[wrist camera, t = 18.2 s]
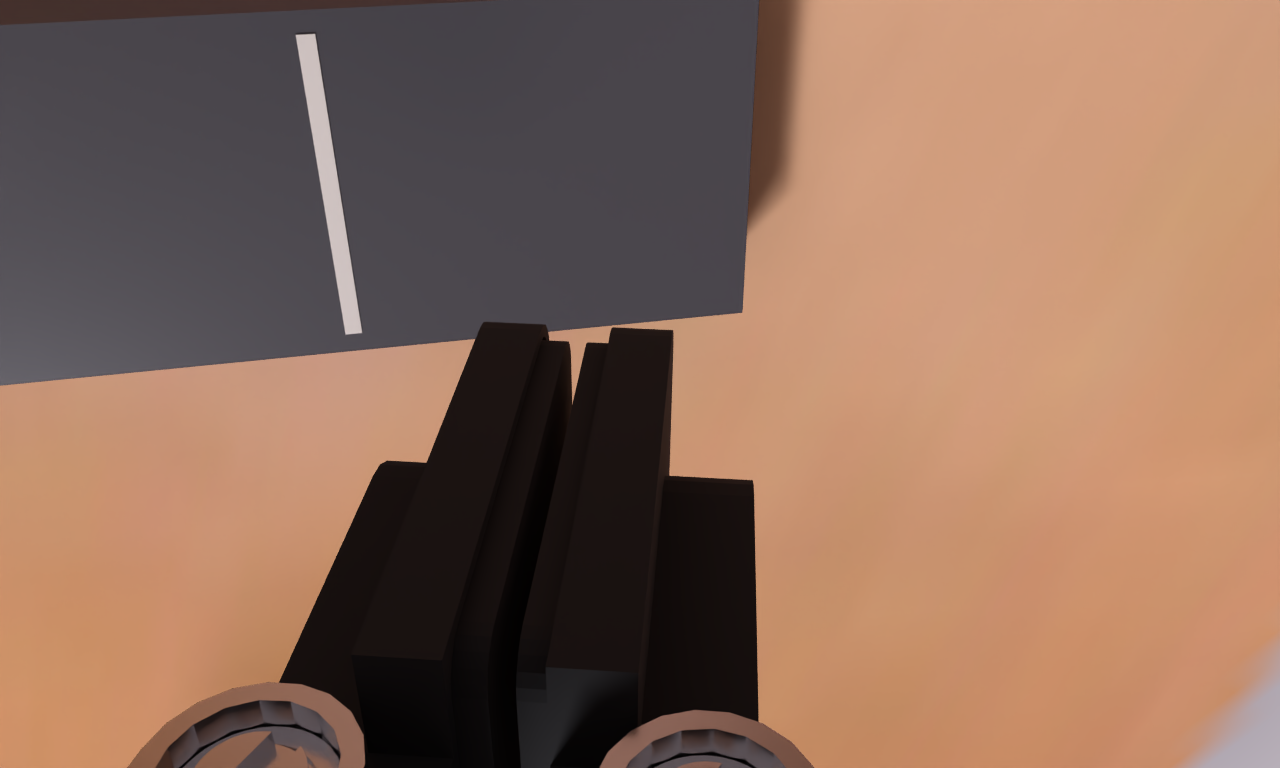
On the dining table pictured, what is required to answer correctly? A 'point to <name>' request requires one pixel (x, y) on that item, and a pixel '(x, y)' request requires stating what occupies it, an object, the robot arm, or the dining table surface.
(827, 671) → the dining table surface
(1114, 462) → the dining table surface
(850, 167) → the dining table surface
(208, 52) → the domino
